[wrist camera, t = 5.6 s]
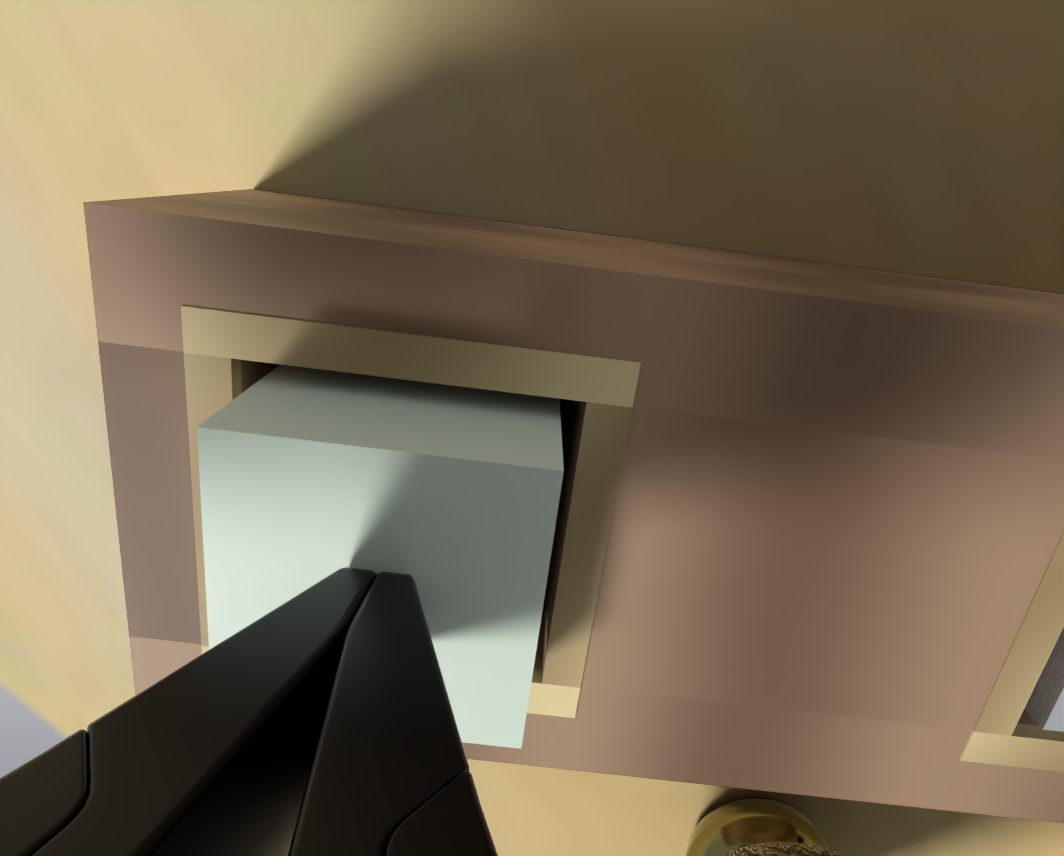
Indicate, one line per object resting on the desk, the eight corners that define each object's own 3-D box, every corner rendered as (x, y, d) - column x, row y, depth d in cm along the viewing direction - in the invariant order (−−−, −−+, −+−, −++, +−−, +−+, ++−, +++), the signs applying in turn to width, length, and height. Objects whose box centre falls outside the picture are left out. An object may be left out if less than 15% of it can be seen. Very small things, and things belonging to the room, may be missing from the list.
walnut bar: (1281, 322, 13) (1682, 407, 9) (1110, 655, 16) (1340, 854, 12) (251, 188, 13) (82, 202, 8) (260, 557, 16) (137, 724, 11)
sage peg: (556, 357, 12) (563, 470, 8) (529, 554, 13) (521, 748, 9) (327, 328, 12) (196, 427, 7) (324, 530, 13) (212, 715, 9)
